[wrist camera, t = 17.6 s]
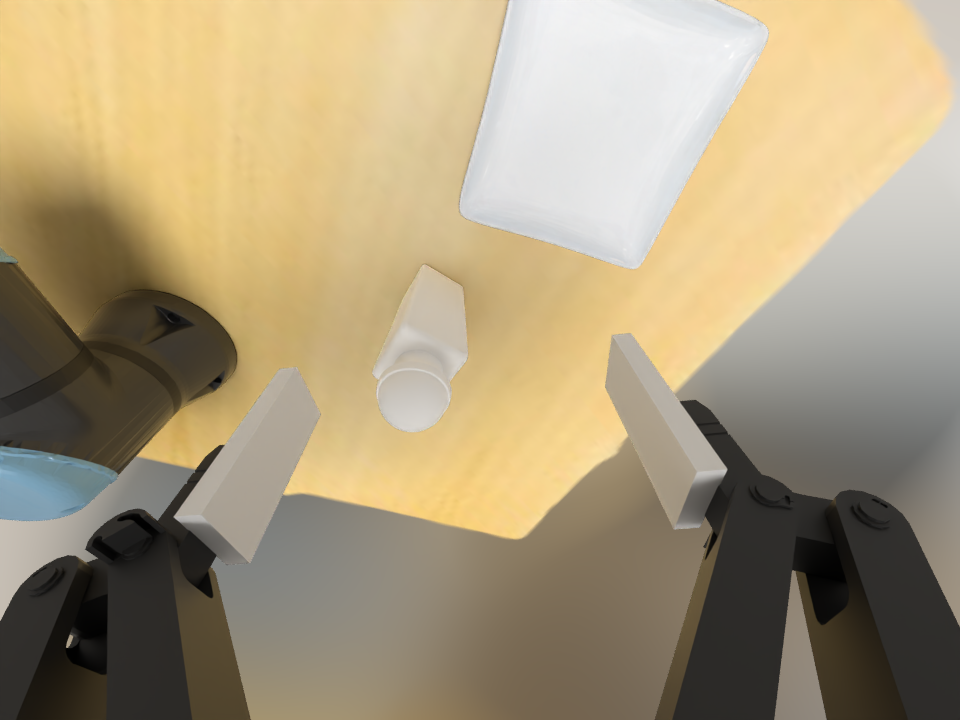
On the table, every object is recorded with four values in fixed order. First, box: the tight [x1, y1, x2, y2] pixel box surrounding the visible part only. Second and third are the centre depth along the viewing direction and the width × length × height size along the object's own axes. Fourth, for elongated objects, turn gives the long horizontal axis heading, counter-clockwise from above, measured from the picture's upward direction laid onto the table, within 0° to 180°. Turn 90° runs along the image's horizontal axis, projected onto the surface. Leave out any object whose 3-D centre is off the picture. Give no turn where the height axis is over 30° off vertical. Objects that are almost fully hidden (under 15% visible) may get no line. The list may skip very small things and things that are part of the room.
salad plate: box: [459, 0, 769, 269], centre depth 34 cm, size 21×21×3 cm
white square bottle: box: [372, 264, 468, 432], centre depth 35 cm, size 6×6×22 cm
